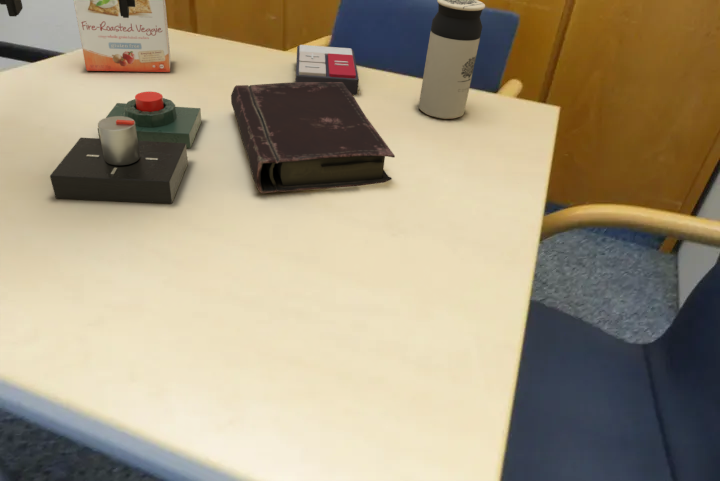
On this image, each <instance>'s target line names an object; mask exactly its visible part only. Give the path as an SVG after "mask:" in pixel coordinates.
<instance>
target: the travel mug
mask: <svg viewBox="0 0 720 481" xmlns="http://www.w3.org/2000/svg"><path fill="white" fill-rule="evenodd" d="M436 1H437V4H438V6H437V7H438V8H437V10H438V11H437V12H436V14H435V16H434V17H433V18H432V21H431V25H430V26H431V27H430V32H429V33H430V34H429V38H428V45H427V51H426V58H425V64H424V70H423V76H422V82H421V89H420V93H419V101H418V109H419V110H420V111H421V112H422V113H424V114H425V115H427V116H430V117H432V118H436V119H442V120H450V119H451V120H452V119H457V118H461V117H463V115H464V114H465V111H466V107H467V106H466V105H467V101H468V96H469V92H470V87H471V83H472V79H473V74H474V70H475V69H474V68H475V63H476V60H477V54H478V51H479V50H478V49H479V45H480V41H481V35H482V31H483V24H482V20H481V16H482V13H483V11H484V9H486V4H485V3H484V2H482V1H480V0H436Z"/></svg>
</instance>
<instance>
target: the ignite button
mask: <svg viewBox="0 0 720 481" xmlns="http://www.w3.org/2000/svg"><path fill="white" fill-rule="evenodd" d="M163 98H164V96H163V94H161V93H160V92H156V91H142V92H138V93H137V94H135V96H134V99H135V101H136V107H137V110H140V111H146V112H153V111H159V110H161V109H164V104H163Z"/></svg>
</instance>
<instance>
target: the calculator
mask: <svg viewBox="0 0 720 481" xmlns="http://www.w3.org/2000/svg"><path fill="white" fill-rule="evenodd" d="M295 64H296V65H295V82H343V84H344V85H345V86H346V88H347V89H348V90H349V91H350V93H351V94H352V95H353V96H357V95H358V90H359V81H360V80H359V73H358V69H357V68H358V67H357V62H356V57H355V51H354V49H352V48H349V47H335V46H323V45H310V44H308V45H307V44H299V45H297V47H296V62H295Z"/></svg>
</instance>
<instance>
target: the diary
mask: <svg viewBox="0 0 720 481" xmlns="http://www.w3.org/2000/svg"><path fill="white" fill-rule="evenodd" d="M230 102H231V106H232V109H233V112H234V115H235V118H236V122H237V125H238V130H239V133H240V137H241V140H242V145H243V146H244V149H245V153H246V155H247V158H248V162H249V166H250V170H251V171H250V172H251V174H252V178H253V181H254V184H255V185H256V187H257V190H258V191H259V193H260V194H269V193H277V192H279V193H283V192H284V193H285V192H296V191H310V190H311V191H312V190H323V189H337V188H351V187H362V186H369V185H378V184H385V183H387V182H389V181H392V179H393V178H392V177H391V176H389V175H388V173H387V172H386V171H385V170H384V167H385V159H386V157H388V158H395V154H394V153H393V151H392V149H391V148H390V147H389V146H388V144H387V143H386V142H385V141H384V139H383V138H382V136H381V135H380V133H379V132H378V131H377V130H376V128H375V127H374V125H373V124H372V123H371V122H370V120H369V118H367V116H366V114H365V113H364V111H363V109H362V108H361V106H360V105H359V103H358V101H357V100H356V98H355V97H354V95H352V94H351V93H350V91H349V90H348V89H347V88H346V86H345V85H344V84H343V82H296V81H295V82H278V83H276V82H275V83H261V84H250V85H248V84H246V85H245V84H241V85H239V84H238V85H235V86H233V88H232V92H231V94H230Z"/></svg>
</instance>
